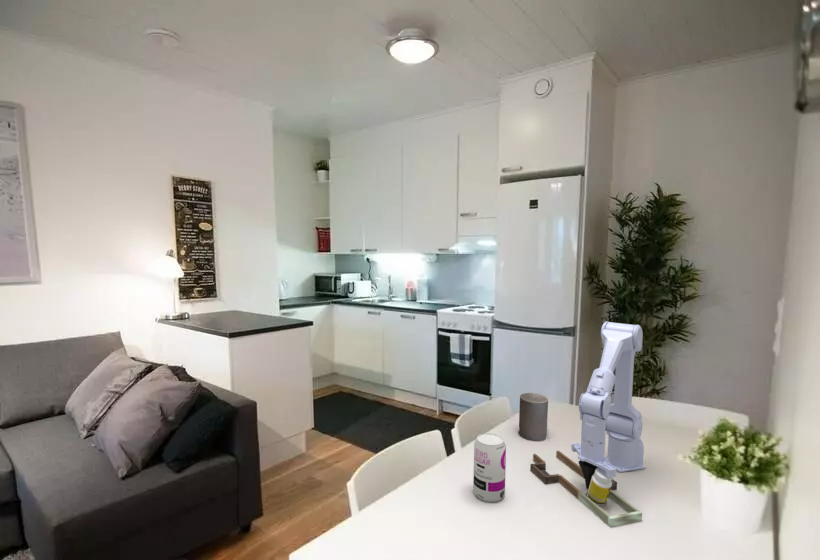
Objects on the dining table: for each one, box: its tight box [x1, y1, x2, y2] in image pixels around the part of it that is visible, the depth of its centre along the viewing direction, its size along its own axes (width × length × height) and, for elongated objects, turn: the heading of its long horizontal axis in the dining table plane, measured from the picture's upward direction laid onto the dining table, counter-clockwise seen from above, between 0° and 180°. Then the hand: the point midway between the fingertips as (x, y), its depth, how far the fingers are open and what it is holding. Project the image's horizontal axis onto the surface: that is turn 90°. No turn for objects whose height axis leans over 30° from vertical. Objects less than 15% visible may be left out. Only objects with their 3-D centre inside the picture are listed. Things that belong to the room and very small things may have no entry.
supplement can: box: [472, 432, 507, 503], centre depth 107 cm, size 8×8×15 cm
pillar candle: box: [518, 392, 549, 442], centre depth 143 cm, size 10×10×15 cm
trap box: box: [529, 450, 643, 528], centre depth 111 cm, size 18×32×2 cm, turn 15°
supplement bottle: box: [586, 467, 613, 507], centre depth 104 cm, size 5×5×8 cm
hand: (591, 489), depth 107 cm, fingers closed, pressing on supplement bottle
